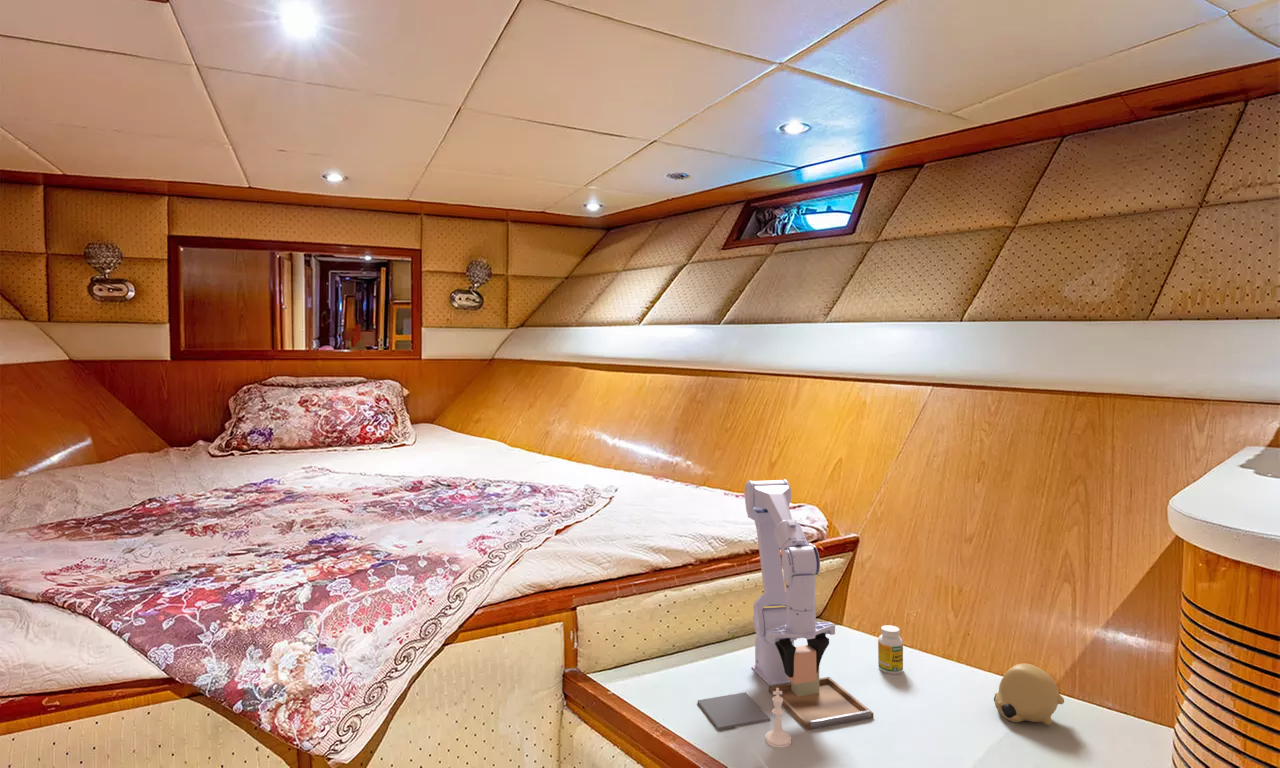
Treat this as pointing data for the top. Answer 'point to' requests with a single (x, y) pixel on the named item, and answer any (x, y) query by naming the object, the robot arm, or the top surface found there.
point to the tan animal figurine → (1027, 695)
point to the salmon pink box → (804, 665)
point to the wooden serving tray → (823, 705)
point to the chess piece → (777, 725)
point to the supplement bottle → (890, 650)
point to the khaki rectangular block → (806, 687)
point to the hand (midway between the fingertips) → (801, 673)
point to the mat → (732, 711)
